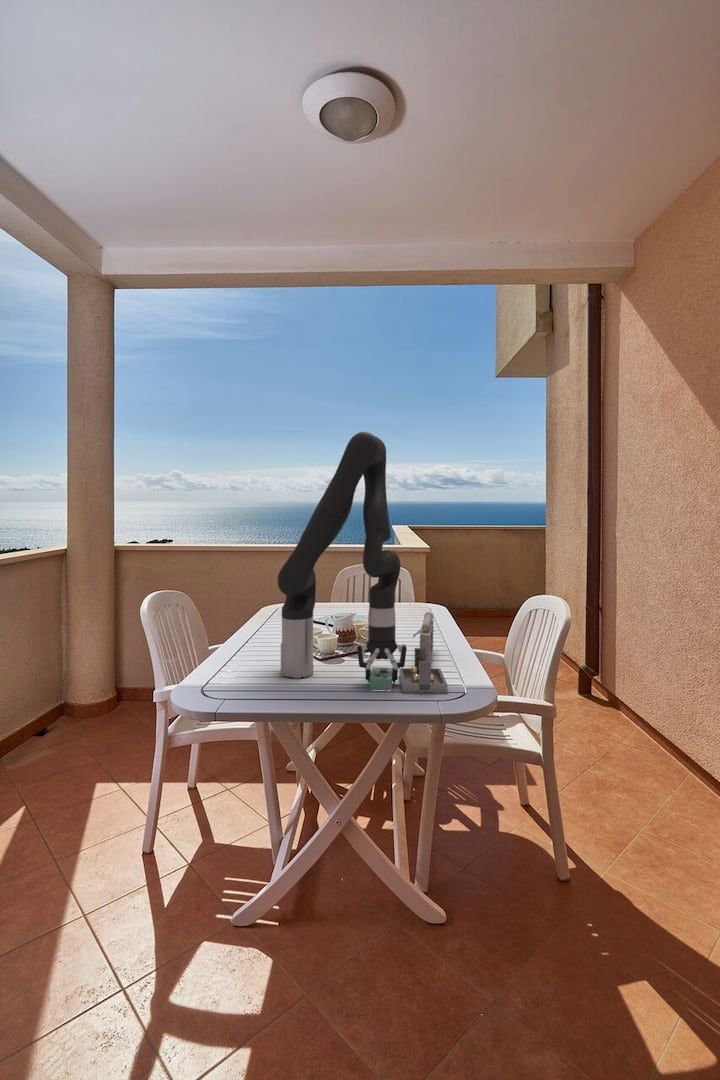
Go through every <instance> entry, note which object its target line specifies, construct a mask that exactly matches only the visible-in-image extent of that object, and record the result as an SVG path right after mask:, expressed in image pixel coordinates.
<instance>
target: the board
mask: <svg viewBox="0 0 720 1080" xmlns="http://www.w3.org/2000/svg"><path fill="white" fill-rule="evenodd" d="M392 673H393V672H392V667H386V666H385V667H384V666H371V674H370V682H369V689H368V691H369V692H372V691H371V690H385V691H387V690H392V691H393V683H392Z"/></svg>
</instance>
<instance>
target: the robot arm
mask: <svg viewBox="0 0 720 1080" xmlns="http://www.w3.org/2000/svg"><path fill="white" fill-rule="evenodd" d="M386 469H387V447H386V444H385V443H384V441H383V440H382V439H380V438H379V437H378V436H375V435H374V434H373V433H371V432H367V431H360V432H357V433H355V434H354V435H353V436H352V437H351V438H350V440H349V441H348V442H347V445H346V447H345V450H344V451H343V454H342V457H341V459H340V462H339V463H338V466H337V468H336V470H335V473H334V475H333V477H332V478H331V480H330V482H329V484H328V486H327V488H326V489H325V491H324V493H323V494H322V496H321V498H320V500H319V502H318V504H317V505H316V507H315V509H314V510H313V513H312V515H311V517H310V519H309V521H308V523H307V524H306V526H305V529H303V532H302V534H301V536H300V538H299V541H298V543H297V544H296V546H295V548H294V550H293V551H292V553H291V554H290V555H289V557H288V558H287V560H286V561H285V563H284V564H283V566H282V567H281V569H280V570H279V572H278V575H277V586H278V588H279V590H280V592H281V593H282V594H284V595H286V597H285V601H284V603H283V605H282V608H281V644H280V677H285V676H286V677H285V678H288V677H293V678H292V679H302V678H301V677H304V678H307V676H308V677H310V676H312V675H313V674H314V610H315V606H316V595H317V593H316V591H317V590H316V589H317V580H316V579H317V578H316V573H315V570H314V568H315V565H316V563H318V560H319V558H320V557H321V556H322V555H323V553H324V552H325V551H326V550H327V549H328V548H329V547H330V545H331V544H332V543H333V542H334V541H335V539H336V538H337V537H338V536H339V533H340V532H341V531H342V529H343V526H344V525H345V524H346V521H347V520H348V518H349V516H350V514H351V510H352V508H353V507H352V506H353V502H354V497H355V493H356V489H357V486H358V484H359V482H360V480H361V479H362V477H363V479H364V480H363V481H364V499H363V504H362V505H363V507H362V508H363V509H362V510H363V511H362V513H363V514H362V517H363V526H364V533H365V538H364V539H365V541H364V549H363V556H362V565H363V569H364V571H365V574H367V576H368V577H371V578H378V581H377V583H375V584H374V585H372V586H370V587H369V592H368V595H369V596H368V597H369V599H368V601H369V602H368V604H369V606H368V617H367V621H368V622H367V628H368V630H367V631H368V633H367V634H368V635H367V637H368V638H367V639H368V640H367V643H366V644H361V643H358V644H357V646H356V649H357V657H358V659H357V660H358V667H360V668H363V669H365V680H366V681H367V682H368V683H370V674H371V670H372V665H373V664H374V662H375V660H389V662H390V663H391V666H392V667H391V668H392V672H393V673H392V681H393V683H396V681H398V679H399V668H405V665H406V664H405V663H406V656H407V648H408V647H407V645H406V643H405V644H404V643H403V644H397V642H396V620H397V619H396V610H395V609H396V608H395V604H396V603H395V597H396V596H395V594H396V593H395V592H396V588H397V585H398V581H399V576H400V572H401V560H400V556H399V555H398V553H396V551H394V550H392V549H391V550H390V549H387V550H386V549H385V550H383V548H384V547H383V546H384V543H385V542H387V541H389V540H390V539H391V536H392V535H391V534H392V533H391V532H392V531H391V524H390V518H389V510H388V509H389V508H388V500H387V484H386V483H387V482H386V481H387V479H386V478H387V477H386V476H387V475H386V474H387V473H386V472H387V470H386ZM366 649H367V650H368V652H369V653H370V654H369V656H368V659H367V661H364V655H363V654H364V653H365V652H366ZM397 650H398V653H400V657H399V661H398V662H397V660H396V659H395V656H394V653H395V652H396V651H397ZM393 683H392V684H393Z"/></svg>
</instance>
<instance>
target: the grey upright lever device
mask: <svg viewBox="0 0 720 1080" xmlns="http://www.w3.org/2000/svg"><path fill="white" fill-rule="evenodd" d="M435 632H436V630H434V613H433V612H432V611H426V612H425V613H424V616H423V621H422V625H421V628H420V629H419V630H418V631H417V632H416V633H414V634H413V635H412V637H413V638H415V637H416V636H417V635H418V634H419V648H425V661H430V662H431V663H433V661H432V660H434V659H435V658H434V657H433V655H435V652H434V644H436V642H434V633H435Z"/></svg>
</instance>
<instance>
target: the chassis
mask: <svg viewBox="0 0 720 1080" xmlns="http://www.w3.org/2000/svg"><path fill="white" fill-rule="evenodd" d="M399 677H400V679H399V683H400V682H401V684H400V687H401V686H402V689H401V693H402V694H433V695H434V694H437V695H438V694H439V695H440V694H443V695H444V694H447V695H448V681H447V680H446V678H445V676H444V674H443V672H442V669H441V668H438V667H437V668H436V667H434V668H433V667H432V662H430V661H425V648H420V647H415V648H414V665H412V666H411V667H407V668H406V667H403V668H402V667H401V668H399V669H398V678H399Z"/></svg>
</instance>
